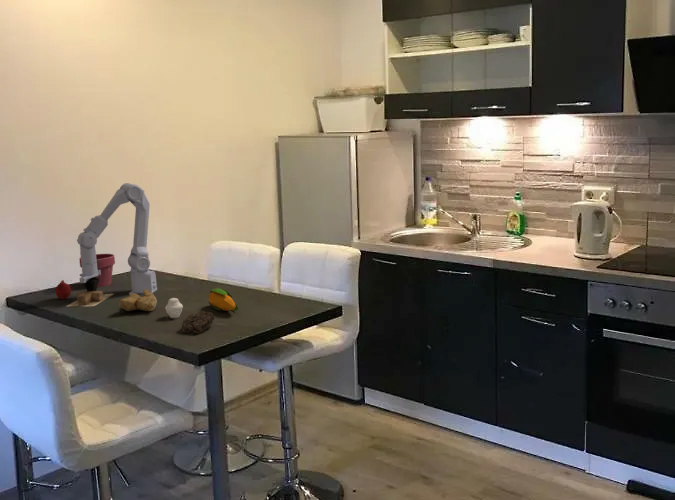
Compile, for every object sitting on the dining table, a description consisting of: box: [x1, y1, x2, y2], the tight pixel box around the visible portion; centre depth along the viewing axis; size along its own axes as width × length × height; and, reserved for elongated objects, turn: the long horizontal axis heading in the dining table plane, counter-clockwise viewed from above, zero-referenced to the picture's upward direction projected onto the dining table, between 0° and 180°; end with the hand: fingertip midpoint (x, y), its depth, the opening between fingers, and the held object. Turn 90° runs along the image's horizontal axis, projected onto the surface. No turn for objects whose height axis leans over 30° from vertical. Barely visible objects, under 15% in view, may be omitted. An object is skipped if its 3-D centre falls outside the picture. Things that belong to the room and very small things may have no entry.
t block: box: [76, 290, 104, 305], centre depth 281 cm, size 9×8×4 cm
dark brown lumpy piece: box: [181, 311, 215, 335], centre depth 243 cm, size 12×10×5 cm
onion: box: [54, 280, 72, 300], centre depth 288 cm, size 6×6×8 cm
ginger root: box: [118, 289, 158, 312], centre depth 269 cm, size 16×16×8 cm
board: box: [67, 293, 114, 307], centre depth 285 cm, size 11×19×1 cm, turn 174°
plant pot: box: [79, 253, 116, 288], centre depth 310 cm, size 14×14×13 cm
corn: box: [208, 288, 239, 312], centre depth 265 cm, size 7×8×20 cm
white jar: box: [164, 297, 184, 319], centre depth 258 cm, size 6×6×7 cm
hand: (92, 296), depth 286 cm, fingers closed
